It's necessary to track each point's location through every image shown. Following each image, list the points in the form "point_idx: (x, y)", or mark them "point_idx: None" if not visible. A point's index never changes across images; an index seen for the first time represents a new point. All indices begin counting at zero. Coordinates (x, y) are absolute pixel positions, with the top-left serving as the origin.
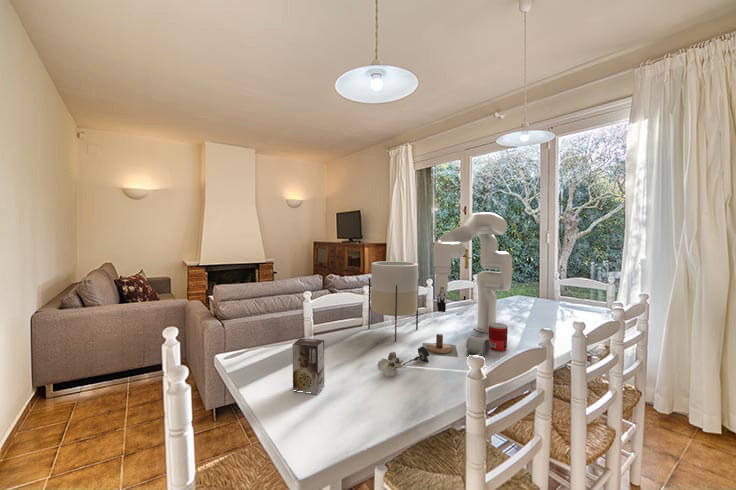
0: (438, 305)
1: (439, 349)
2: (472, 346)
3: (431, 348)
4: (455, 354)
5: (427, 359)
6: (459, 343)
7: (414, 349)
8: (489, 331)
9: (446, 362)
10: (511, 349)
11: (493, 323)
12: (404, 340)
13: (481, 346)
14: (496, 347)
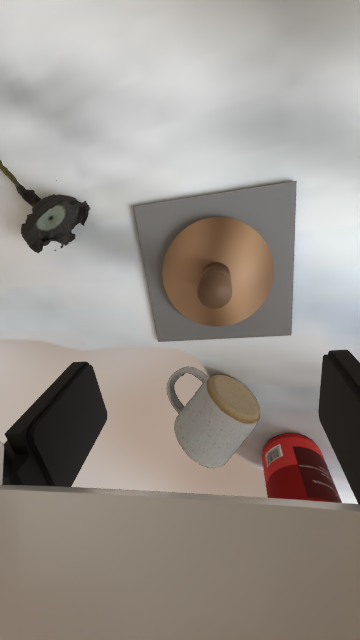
0: (34, 407)
1: (186, 278)
2: (193, 402)
3: (188, 243)
4: (178, 333)
5: (43, 244)
6: (332, 347)
7: (201, 154)
8: (299, 492)
9: (108, 303)
10: None
11: None
12: (348, 43)
13: (175, 431)
14: (264, 457)
